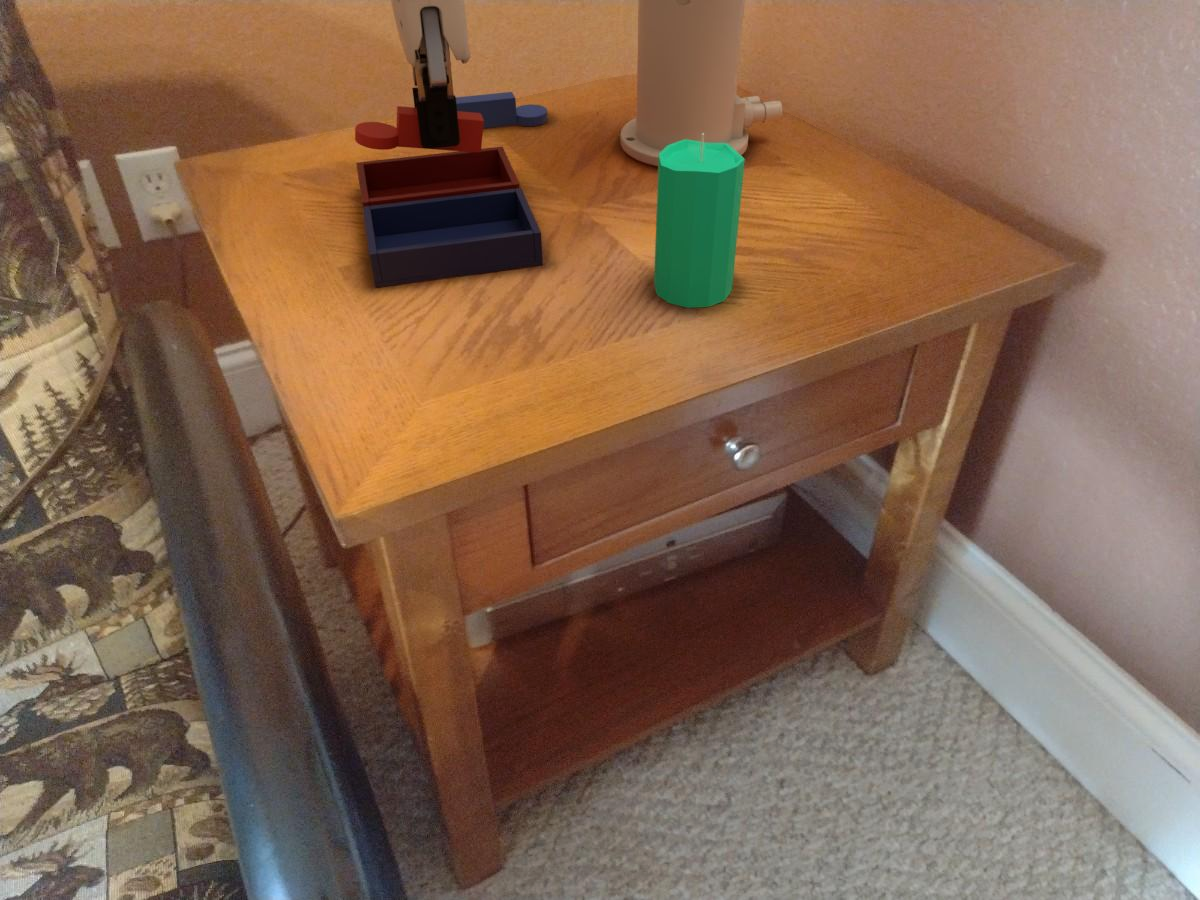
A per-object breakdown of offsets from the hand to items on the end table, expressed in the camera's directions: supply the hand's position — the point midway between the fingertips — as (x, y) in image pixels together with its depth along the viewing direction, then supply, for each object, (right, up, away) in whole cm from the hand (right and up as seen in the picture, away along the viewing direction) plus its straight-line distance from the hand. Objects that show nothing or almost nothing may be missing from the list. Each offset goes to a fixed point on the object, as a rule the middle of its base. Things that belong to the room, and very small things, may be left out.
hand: (438, 138), depth 77 cm
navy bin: (+2, -10, -3) cm, 11 cm away
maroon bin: (-1, -5, +4) cm, 6 cm away
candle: (+21, -14, -7) cm, 26 cm away
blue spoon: (+3, +8, +18) cm, 20 cm away
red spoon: (-1, -1, 0) cm, 2 cm away
